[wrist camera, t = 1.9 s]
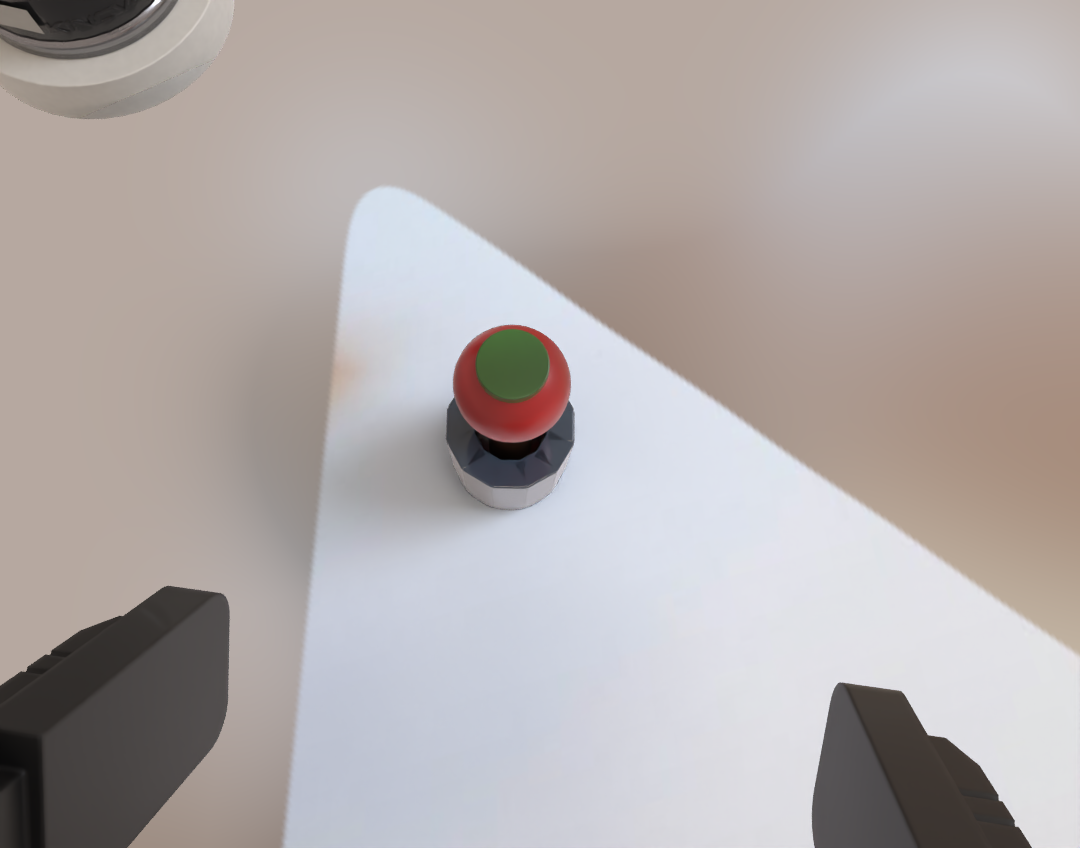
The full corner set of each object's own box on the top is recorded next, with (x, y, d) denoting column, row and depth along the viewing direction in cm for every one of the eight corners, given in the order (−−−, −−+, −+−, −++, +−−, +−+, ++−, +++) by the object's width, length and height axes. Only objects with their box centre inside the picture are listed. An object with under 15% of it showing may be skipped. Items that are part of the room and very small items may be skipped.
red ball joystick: (451, 436, 34) (426, 339, 23) (526, 396, 35) (536, 283, 24) (492, 511, 34) (487, 447, 23) (568, 469, 34) (599, 387, 23)
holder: (435, 434, 35) (423, 400, 30) (530, 383, 35) (535, 342, 31) (487, 530, 34) (485, 511, 29) (584, 476, 35) (598, 449, 30)
